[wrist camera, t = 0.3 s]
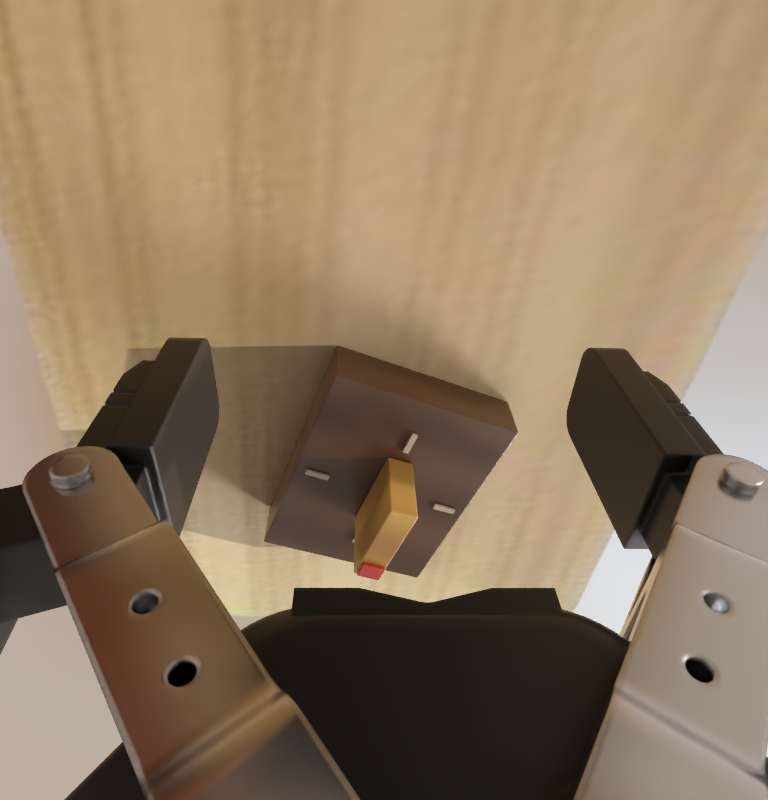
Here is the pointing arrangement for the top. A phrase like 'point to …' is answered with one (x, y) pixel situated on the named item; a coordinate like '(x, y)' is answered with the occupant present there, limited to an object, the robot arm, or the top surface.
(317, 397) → the lock plate
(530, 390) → the top surface
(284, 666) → the robot arm
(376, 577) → the red-tipped tan block
